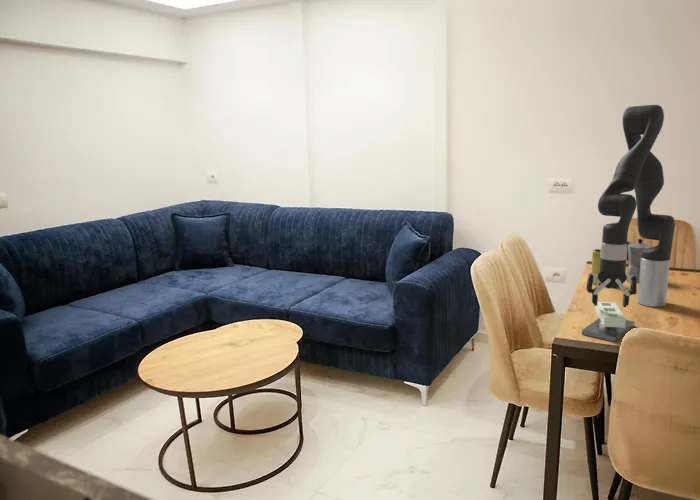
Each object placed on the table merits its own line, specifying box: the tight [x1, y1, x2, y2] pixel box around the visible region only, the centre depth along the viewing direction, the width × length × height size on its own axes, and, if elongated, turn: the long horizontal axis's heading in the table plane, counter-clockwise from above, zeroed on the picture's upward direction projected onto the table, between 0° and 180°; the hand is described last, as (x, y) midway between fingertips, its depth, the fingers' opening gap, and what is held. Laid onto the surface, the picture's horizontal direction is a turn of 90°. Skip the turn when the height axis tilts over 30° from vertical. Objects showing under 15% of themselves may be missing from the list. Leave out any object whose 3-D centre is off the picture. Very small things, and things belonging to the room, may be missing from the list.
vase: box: [590, 248, 601, 286], centre depth 223 cm, size 6×6×14 cm
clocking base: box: [581, 317, 636, 343], centre depth 172 cm, size 18×10×6 cm, turn 135°
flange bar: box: [594, 301, 627, 328], centre depth 171 cm, size 16×6×3 cm, turn 165°
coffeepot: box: [626, 238, 653, 284], centre depth 226 cm, size 15×9×18 cm, turn 13°
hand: (609, 305), depth 171 cm, fingers open, 8 cm apart
